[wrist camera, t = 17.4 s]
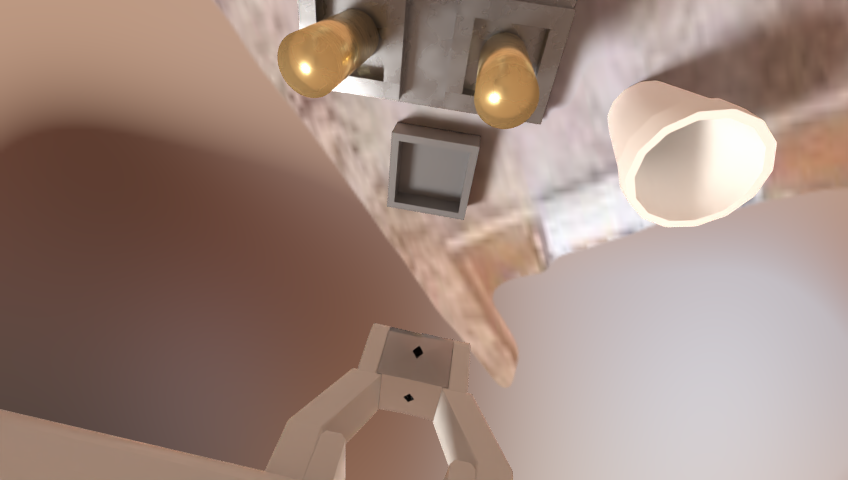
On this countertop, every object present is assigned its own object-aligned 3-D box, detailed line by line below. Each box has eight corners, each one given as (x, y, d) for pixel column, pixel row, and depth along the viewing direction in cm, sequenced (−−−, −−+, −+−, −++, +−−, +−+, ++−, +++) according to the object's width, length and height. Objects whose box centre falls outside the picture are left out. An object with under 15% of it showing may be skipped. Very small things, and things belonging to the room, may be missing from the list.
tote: (392, 193, 48) (387, 206, 45) (397, 122, 42) (391, 132, 40) (465, 206, 47) (463, 219, 45) (480, 135, 42) (479, 147, 39)
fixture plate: (313, 84, 41) (302, 92, 38) (305, -44, 34) (291, -43, 32) (537, 120, 40) (540, 131, 37) (575, -4, 33) (581, 0, 31)
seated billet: (469, 56, 36) (461, 94, 27) (508, 20, 34) (514, 48, 24) (498, 92, 38) (499, 140, 28) (536, 60, 36) (552, 101, 26)
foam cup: (683, 41, 34) (766, 81, 24) (706, 129, 38) (785, 195, 28) (576, 98, 38) (607, 152, 28) (608, 171, 42) (645, 243, 32)
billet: (324, 34, 37) (266, 63, 27) (353, -3, 35) (300, 15, 25) (358, 70, 38) (314, 110, 29) (387, 37, 36) (350, 68, 27)
